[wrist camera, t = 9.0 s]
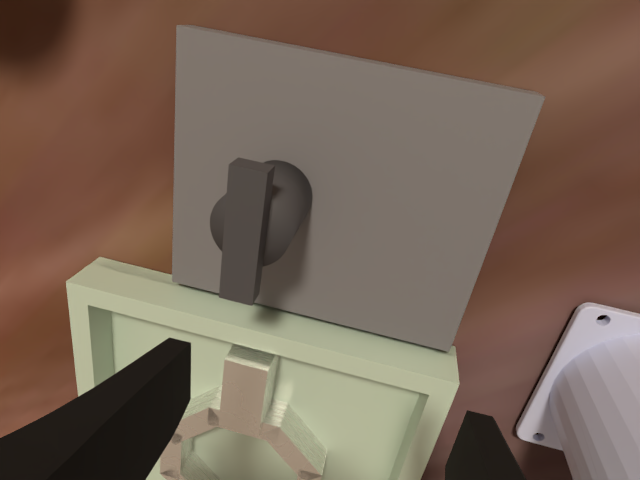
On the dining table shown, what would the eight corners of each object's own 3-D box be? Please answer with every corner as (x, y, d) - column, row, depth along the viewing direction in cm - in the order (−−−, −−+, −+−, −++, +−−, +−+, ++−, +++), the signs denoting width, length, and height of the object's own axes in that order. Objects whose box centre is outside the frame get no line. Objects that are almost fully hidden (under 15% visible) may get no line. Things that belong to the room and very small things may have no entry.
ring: (309, 519, 28) (300, 560, 25) (172, 477, 28) (152, 514, 26) (351, 355, 22) (344, 391, 20) (177, 310, 23) (151, 339, 20)
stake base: (536, 91, 16) (589, 122, 11) (447, 335, 21) (456, 431, 16) (191, 24, 17) (101, 26, 13) (183, 269, 22) (117, 339, 17)
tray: (455, 346, 21) (459, 384, 19) (369, 570, 30) (365, 614, 28) (99, 256, 23) (65, 281, 21) (115, 492, 32) (92, 528, 30)
